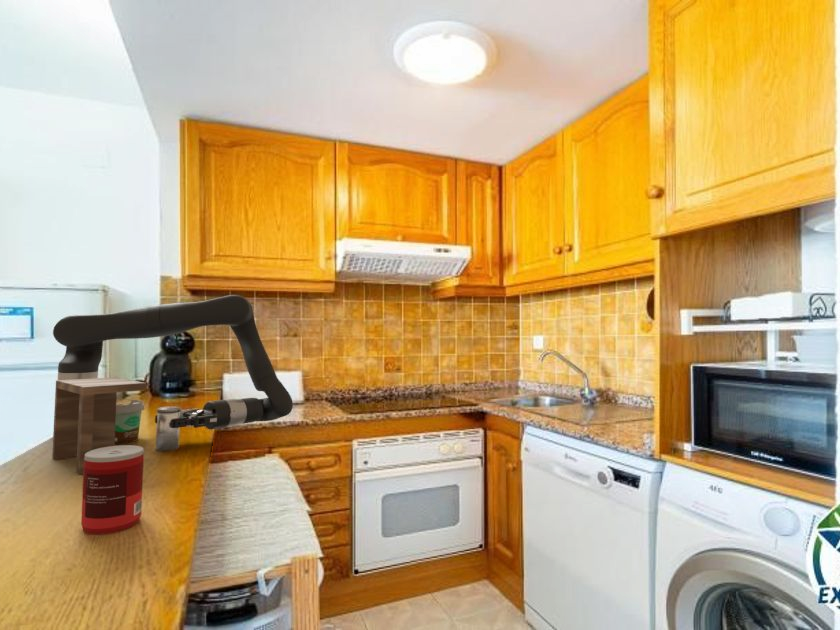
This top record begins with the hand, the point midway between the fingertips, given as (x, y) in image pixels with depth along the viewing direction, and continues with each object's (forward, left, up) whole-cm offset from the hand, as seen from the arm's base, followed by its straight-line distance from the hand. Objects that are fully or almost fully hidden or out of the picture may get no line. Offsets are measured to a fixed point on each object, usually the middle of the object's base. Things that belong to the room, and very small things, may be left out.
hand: (163, 421), depth 116 cm
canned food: (+41, -25, -7) cm, 48 cm away
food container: (-16, -2, -7) cm, 18 cm away
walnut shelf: (0, -14, -7) cm, 15 cm away
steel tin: (0, +1, -7) cm, 7 cm away
